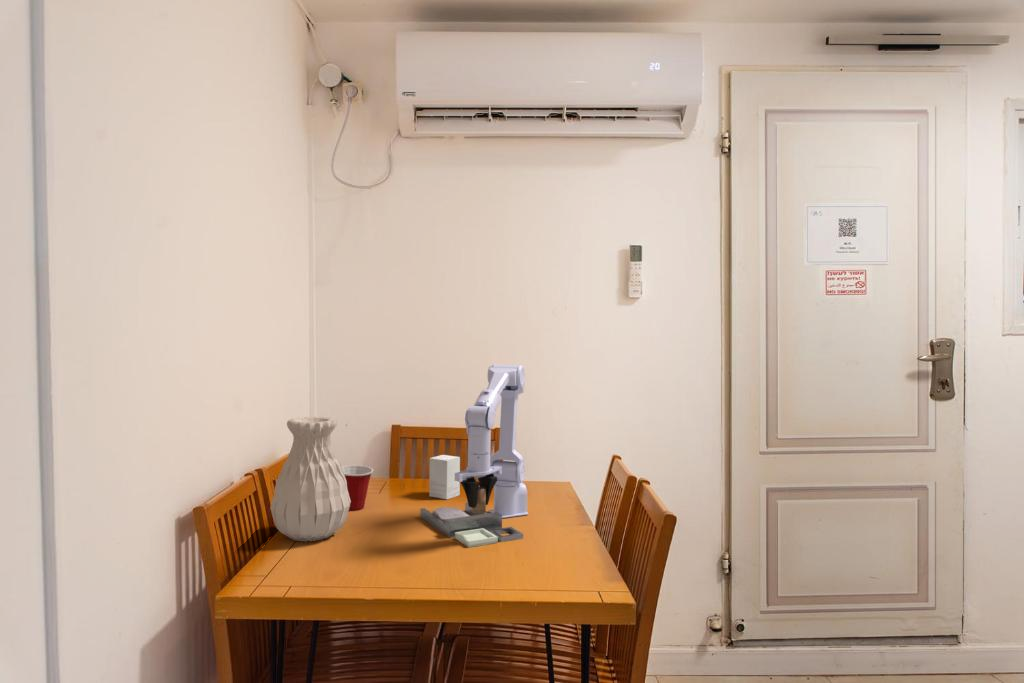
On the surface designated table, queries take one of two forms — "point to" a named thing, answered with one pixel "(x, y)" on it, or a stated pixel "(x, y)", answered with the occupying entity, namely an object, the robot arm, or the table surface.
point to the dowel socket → (513, 536)
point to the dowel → (480, 501)
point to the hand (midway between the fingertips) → (478, 505)
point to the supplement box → (444, 476)
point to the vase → (310, 484)
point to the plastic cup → (357, 484)
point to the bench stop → (463, 521)
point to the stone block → (449, 513)
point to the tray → (476, 537)
